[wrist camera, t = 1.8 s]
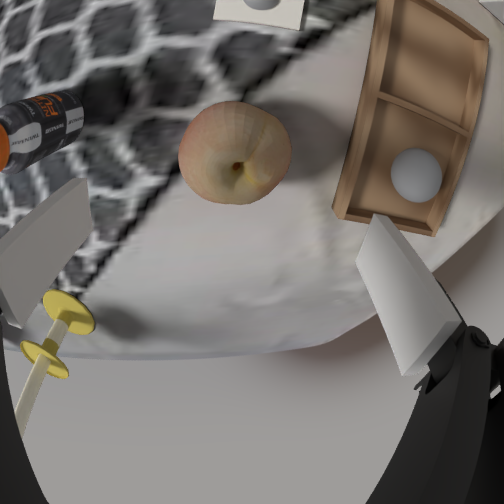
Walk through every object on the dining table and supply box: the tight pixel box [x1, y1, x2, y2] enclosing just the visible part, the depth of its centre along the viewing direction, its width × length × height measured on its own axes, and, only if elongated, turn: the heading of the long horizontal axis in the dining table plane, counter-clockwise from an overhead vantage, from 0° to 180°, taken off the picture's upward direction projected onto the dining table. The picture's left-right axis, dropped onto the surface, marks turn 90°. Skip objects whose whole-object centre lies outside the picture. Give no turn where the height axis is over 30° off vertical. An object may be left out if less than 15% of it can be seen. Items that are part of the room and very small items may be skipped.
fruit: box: [178, 101, 292, 205], centre depth 20 cm, size 8×8×8 cm
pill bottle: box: [0, 91, 84, 175], centre depth 16 cm, size 6×6×11 cm
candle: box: [14, 289, 95, 438], centre depth 25 cm, size 10×10×27 cm
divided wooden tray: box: [332, 0, 489, 237], centre depth 20 cm, size 24×12×2 cm, turn 172°
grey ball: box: [391, 148, 442, 203], centre depth 21 cm, size 5×5×5 cm
